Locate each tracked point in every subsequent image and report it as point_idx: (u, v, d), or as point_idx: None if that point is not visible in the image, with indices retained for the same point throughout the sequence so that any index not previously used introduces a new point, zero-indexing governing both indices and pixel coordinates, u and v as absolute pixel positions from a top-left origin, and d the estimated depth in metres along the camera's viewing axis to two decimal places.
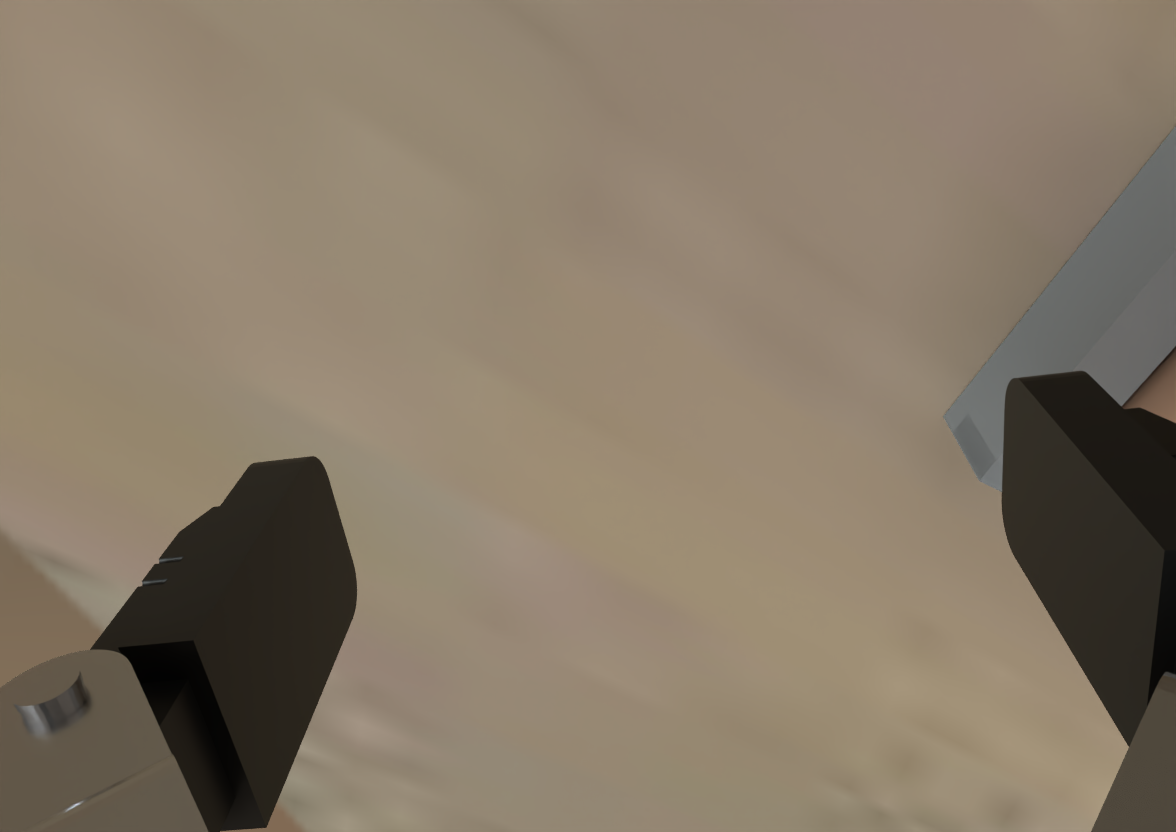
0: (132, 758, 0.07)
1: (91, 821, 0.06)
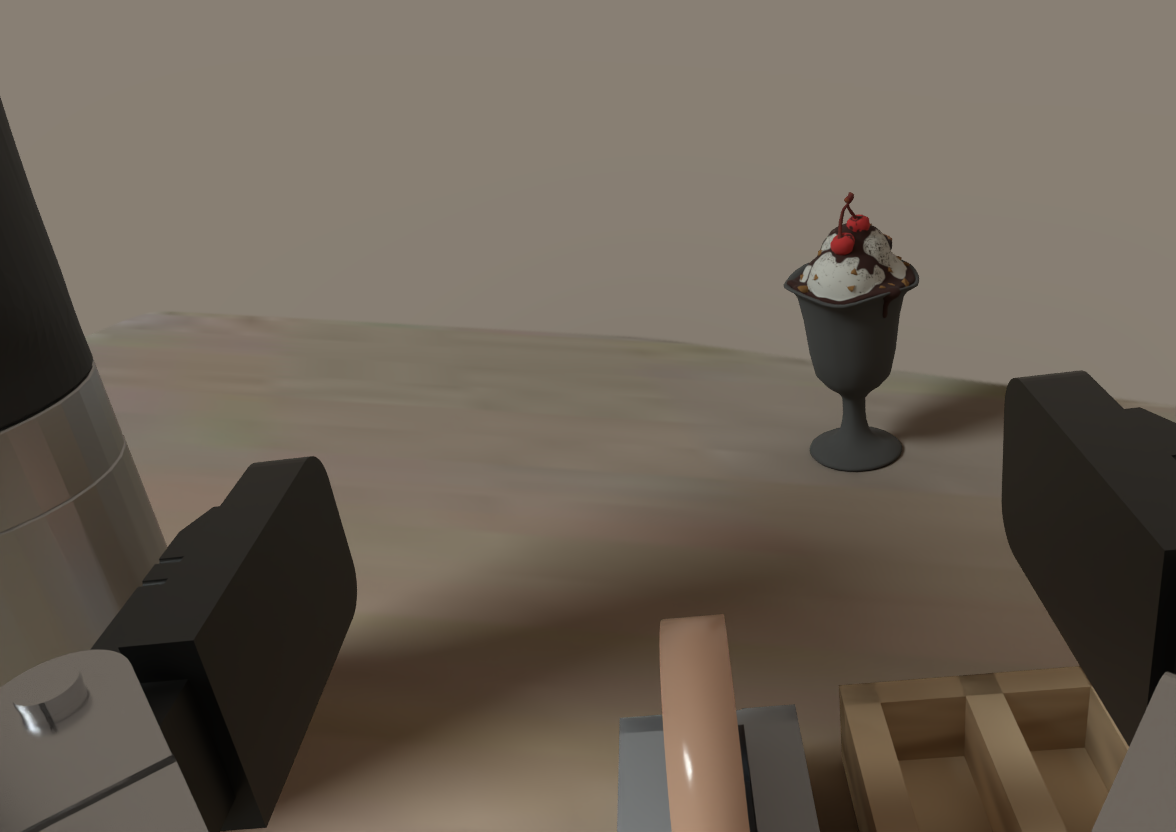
0: (132, 758, 0.07)
1: (91, 821, 0.06)
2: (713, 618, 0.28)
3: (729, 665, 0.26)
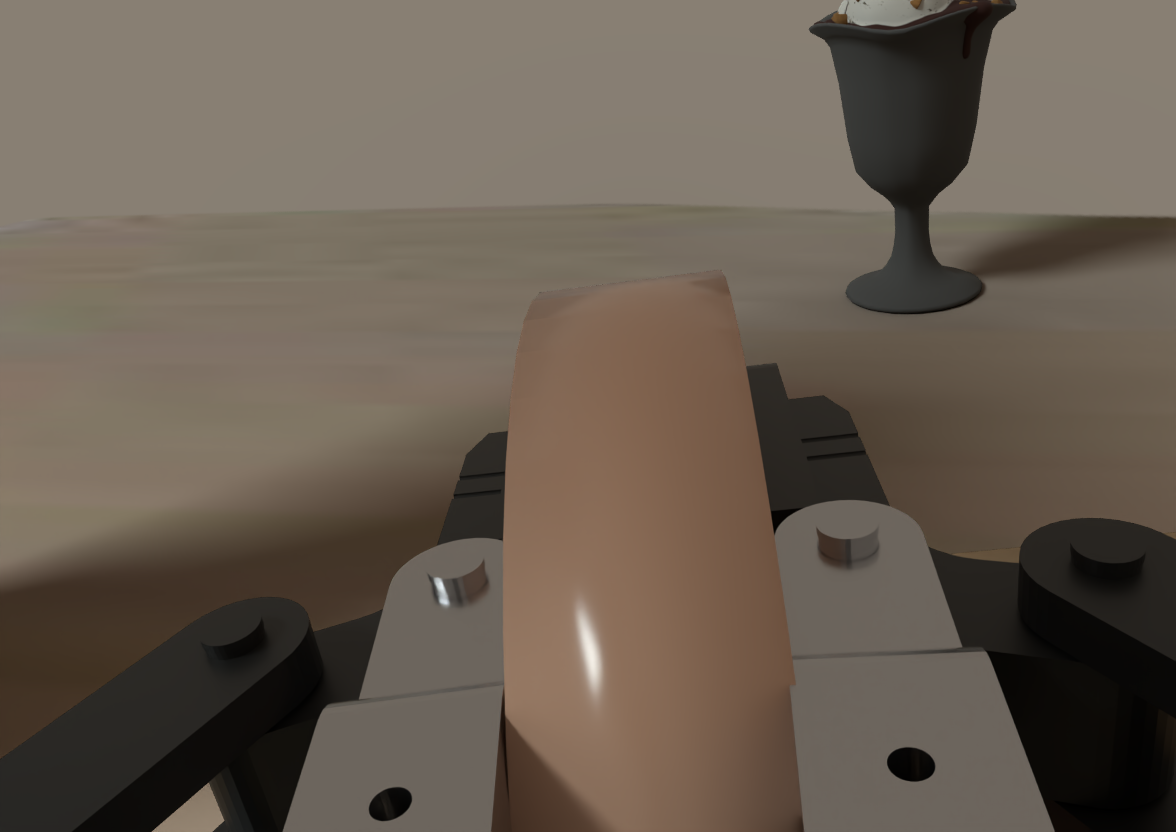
0: (490, 661, 0.08)
1: (416, 717, 0.06)
2: None
3: (730, 312, 0.08)
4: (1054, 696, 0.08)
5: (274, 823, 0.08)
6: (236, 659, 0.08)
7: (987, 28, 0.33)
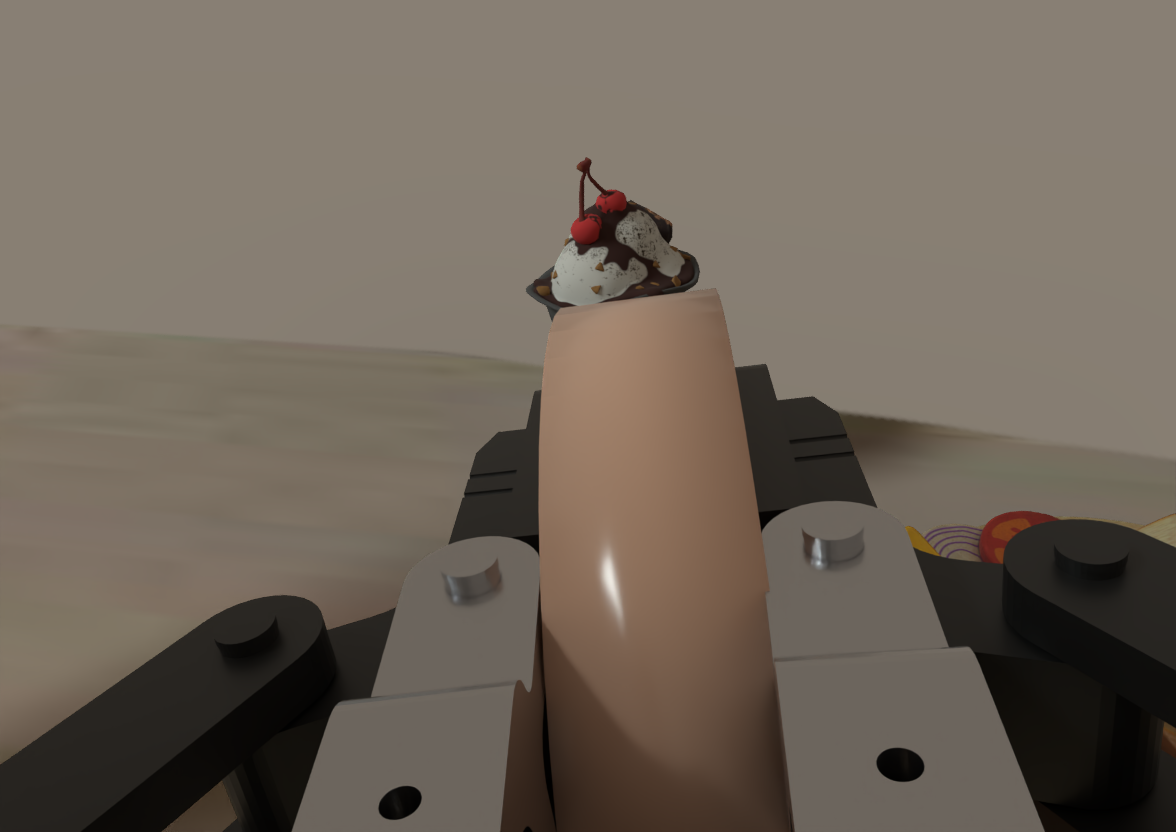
0: (502, 660, 0.08)
1: (427, 716, 0.06)
2: None
3: (723, 324, 0.10)
4: (1037, 697, 0.08)
5: (286, 822, 0.08)
6: (251, 658, 0.08)
7: None
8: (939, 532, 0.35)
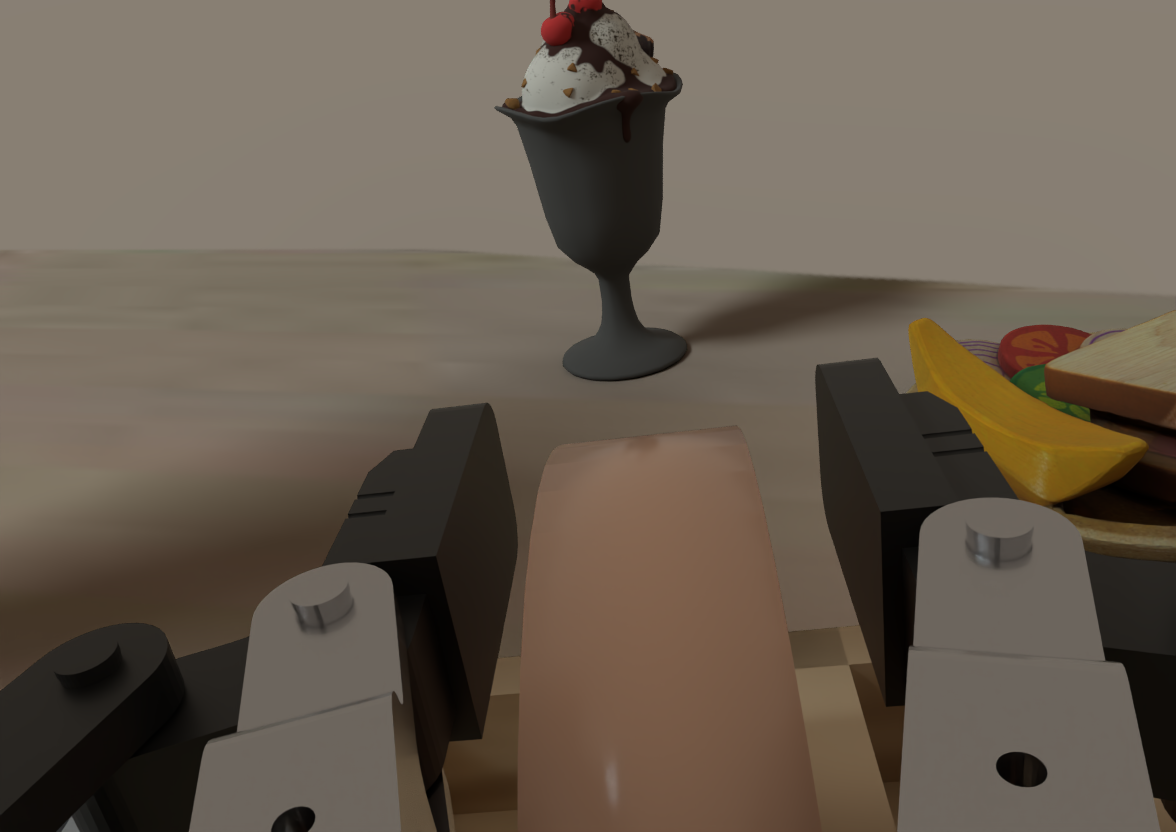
0: (369, 679, 0.08)
1: (306, 738, 0.06)
2: (727, 537, 0.07)
3: None
4: None
5: None
6: (89, 687, 0.08)
7: (648, 113, 0.34)
8: None
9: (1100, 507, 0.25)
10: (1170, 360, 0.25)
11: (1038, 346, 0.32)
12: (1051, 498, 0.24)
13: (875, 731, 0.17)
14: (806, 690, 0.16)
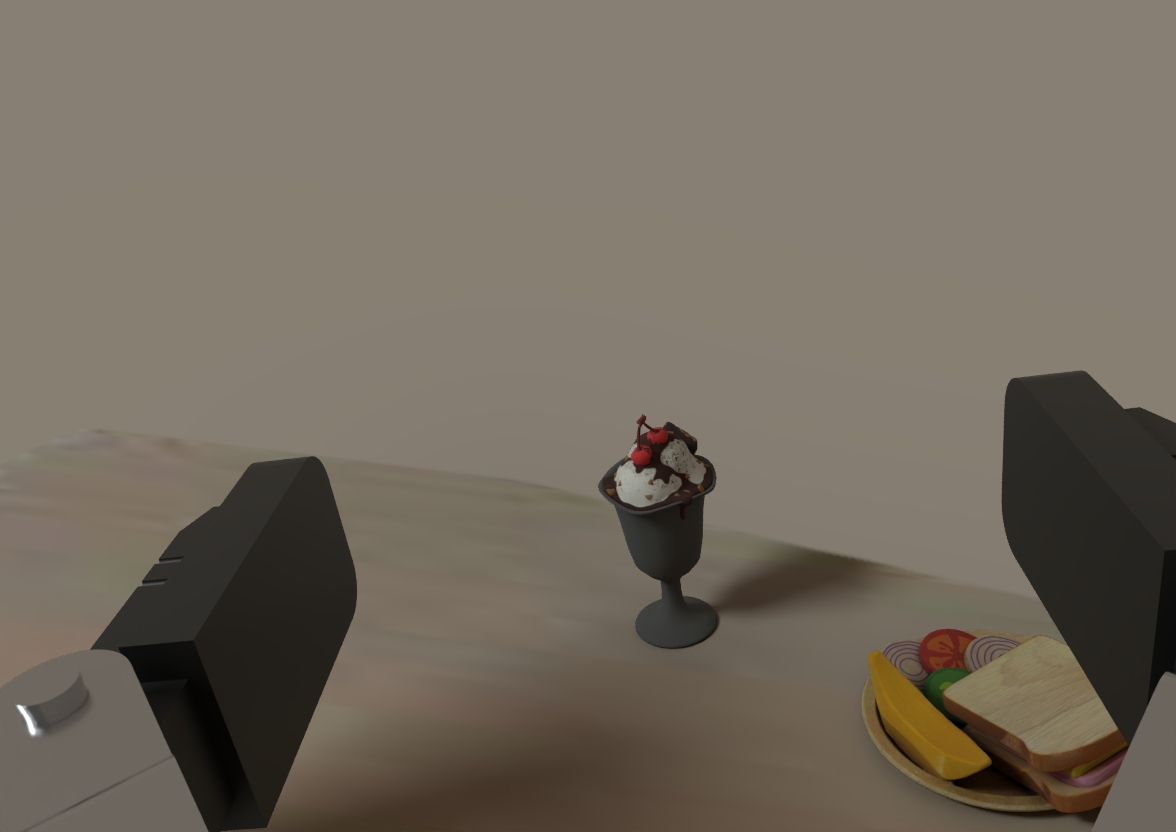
0: (132, 758, 0.07)
1: (91, 821, 0.06)
2: None
3: None
4: None
5: None
6: None
7: (696, 501, 0.56)
8: (893, 646, 0.54)
9: (973, 774, 0.47)
10: (1006, 699, 0.47)
11: (942, 647, 0.54)
12: (946, 777, 0.46)
13: None
14: None
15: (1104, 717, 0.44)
